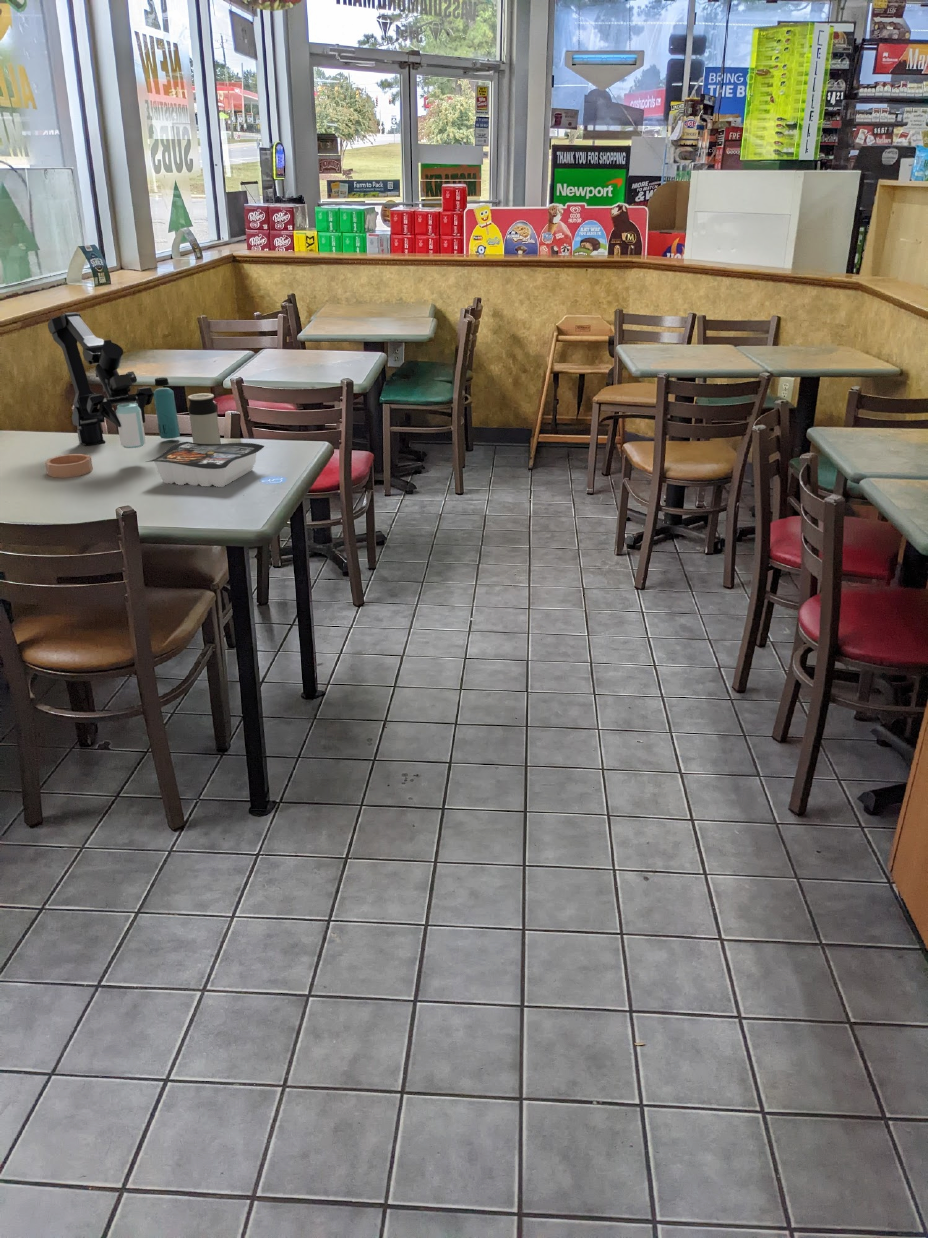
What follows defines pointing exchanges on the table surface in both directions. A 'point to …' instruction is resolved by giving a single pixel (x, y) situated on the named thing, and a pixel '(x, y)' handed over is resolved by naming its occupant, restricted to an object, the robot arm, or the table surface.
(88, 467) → the bowl
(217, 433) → the travel mug
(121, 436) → the can
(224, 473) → the food packaging
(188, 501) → the table surface
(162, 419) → the beverage bottle
